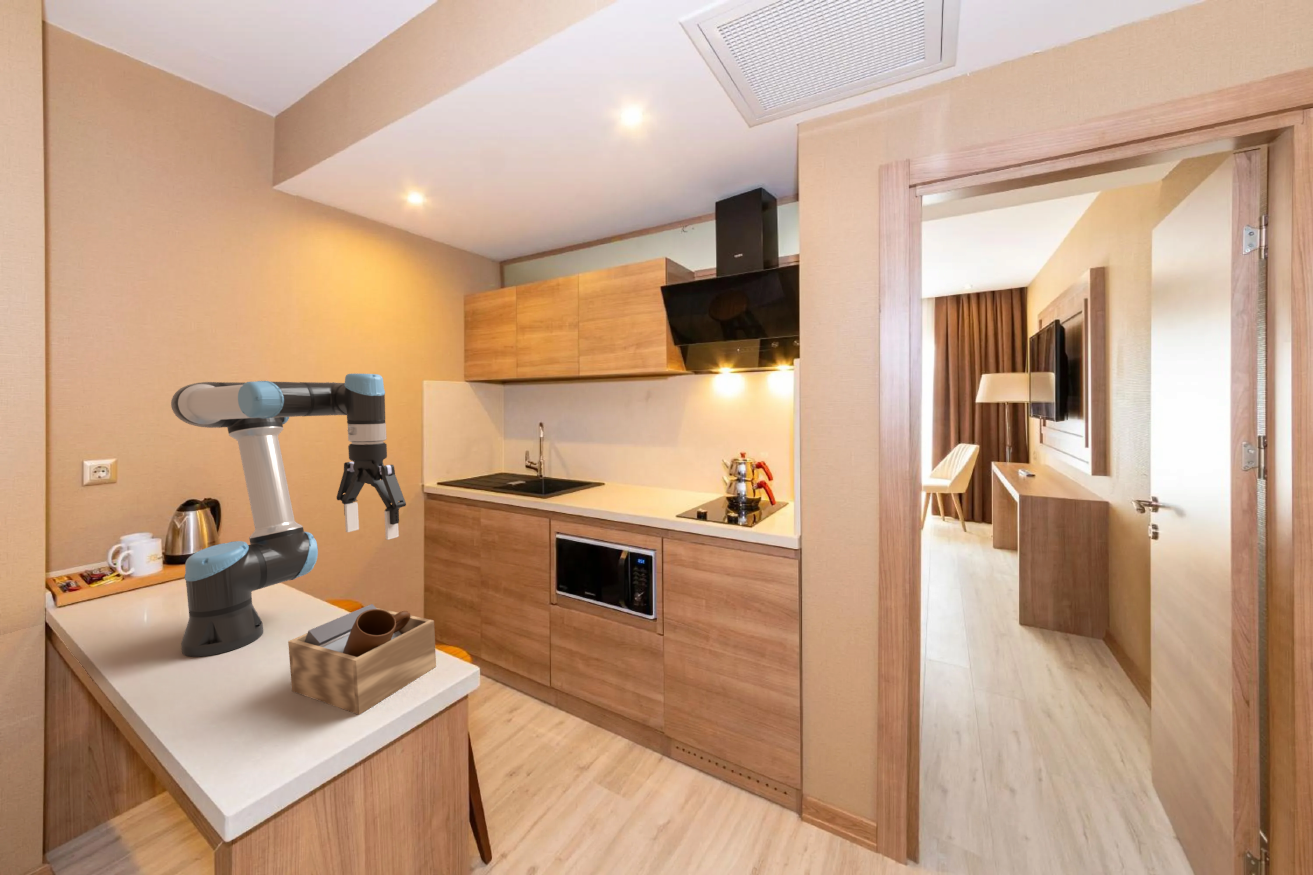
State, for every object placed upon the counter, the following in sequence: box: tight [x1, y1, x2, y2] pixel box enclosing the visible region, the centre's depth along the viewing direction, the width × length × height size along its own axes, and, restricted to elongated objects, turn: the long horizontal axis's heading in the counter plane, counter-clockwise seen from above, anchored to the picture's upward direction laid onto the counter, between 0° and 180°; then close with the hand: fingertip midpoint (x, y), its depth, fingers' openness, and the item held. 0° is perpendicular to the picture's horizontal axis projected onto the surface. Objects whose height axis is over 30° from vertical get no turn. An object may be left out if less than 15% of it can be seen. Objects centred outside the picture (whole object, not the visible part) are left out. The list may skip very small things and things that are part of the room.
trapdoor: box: [304, 603, 402, 653], centre depth 106 cm, size 14×15×4 cm
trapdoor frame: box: [287, 607, 437, 716], centre depth 105 cm, size 20×18×10 cm
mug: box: [343, 608, 412, 657], centre depth 103 cm, size 12×8×9 cm
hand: (371, 534), depth 115 cm, fingers open, 13 cm apart
